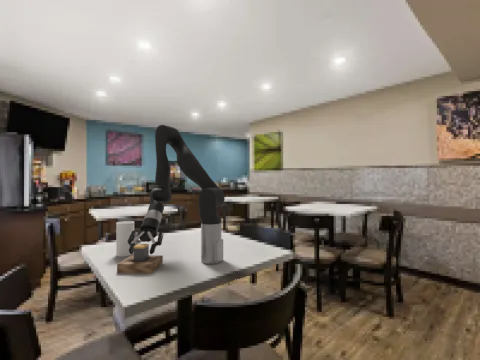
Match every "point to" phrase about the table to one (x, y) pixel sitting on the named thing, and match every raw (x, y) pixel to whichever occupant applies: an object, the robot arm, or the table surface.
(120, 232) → the cup
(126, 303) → the table surface
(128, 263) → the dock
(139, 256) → the block
